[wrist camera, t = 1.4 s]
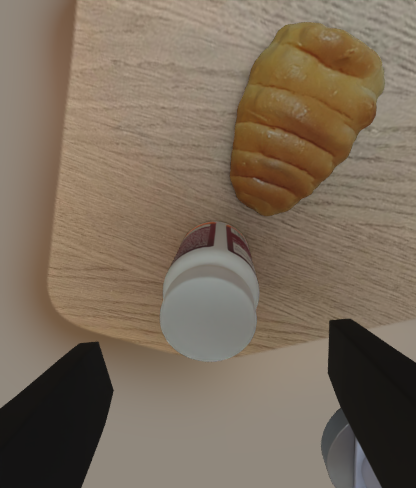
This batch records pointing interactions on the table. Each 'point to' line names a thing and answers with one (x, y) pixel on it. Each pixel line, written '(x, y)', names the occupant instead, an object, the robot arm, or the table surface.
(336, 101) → the pastry
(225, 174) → the table surface
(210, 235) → the pill bottle
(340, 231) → the table surface
